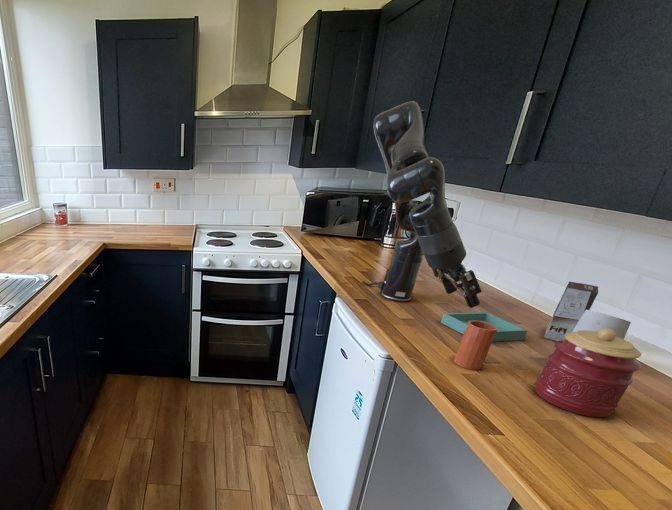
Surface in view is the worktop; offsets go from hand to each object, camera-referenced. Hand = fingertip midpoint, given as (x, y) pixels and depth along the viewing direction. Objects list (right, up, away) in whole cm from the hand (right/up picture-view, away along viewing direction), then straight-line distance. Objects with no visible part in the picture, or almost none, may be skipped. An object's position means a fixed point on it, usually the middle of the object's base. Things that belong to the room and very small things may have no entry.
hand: (462, 298), depth 96 cm
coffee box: (+47, -10, +24) cm, 53 cm away
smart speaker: (+41, -16, +11) cm, 45 cm away
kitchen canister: (+18, -23, -7) cm, 31 cm away
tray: (+25, -8, +26) cm, 37 cm away
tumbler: (+6, -16, +6) cm, 19 cm away
